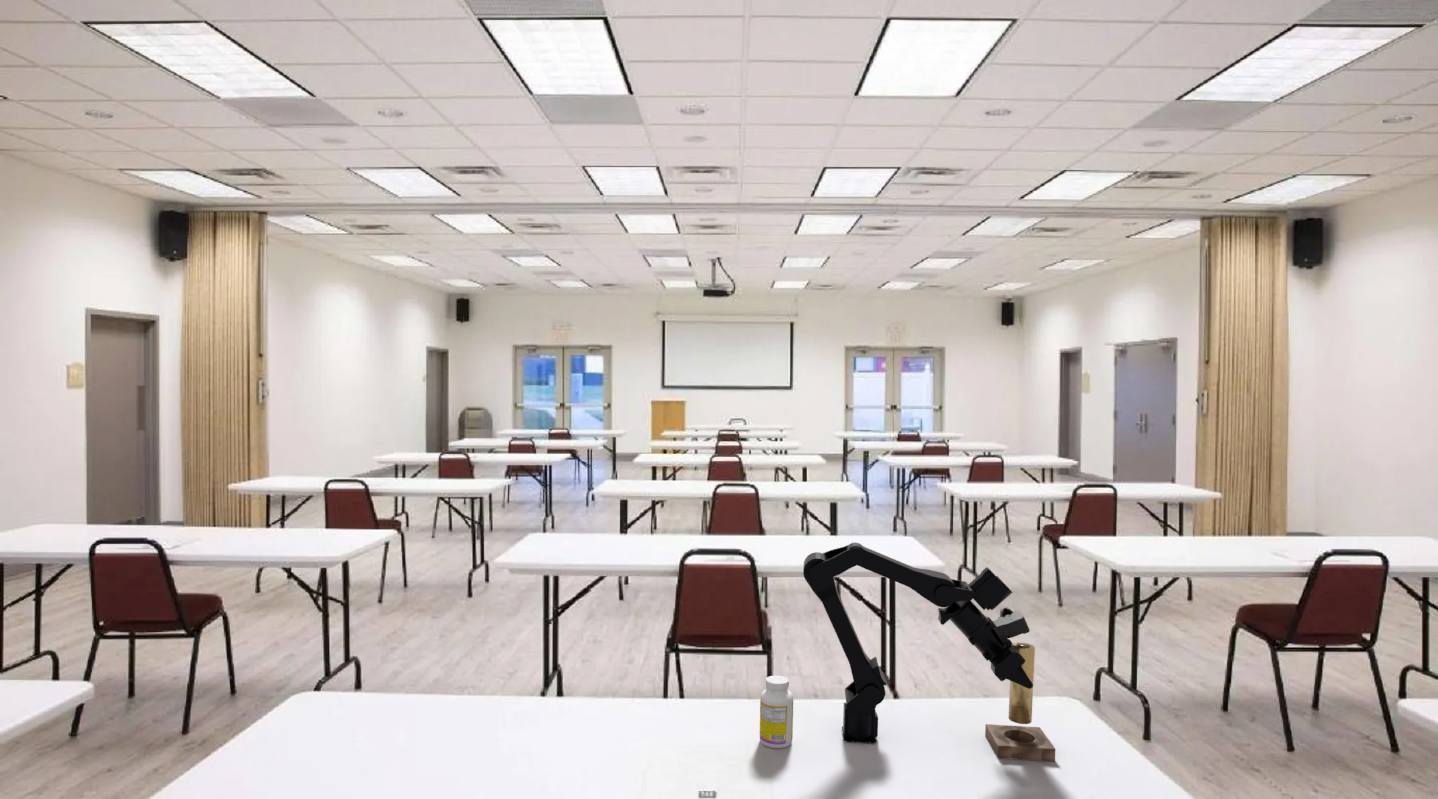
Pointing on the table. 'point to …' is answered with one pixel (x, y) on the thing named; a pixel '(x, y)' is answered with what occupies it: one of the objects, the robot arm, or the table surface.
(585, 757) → the table surface
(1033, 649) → the bronze sleeve
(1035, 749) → the jig plate
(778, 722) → the supplement bottle
